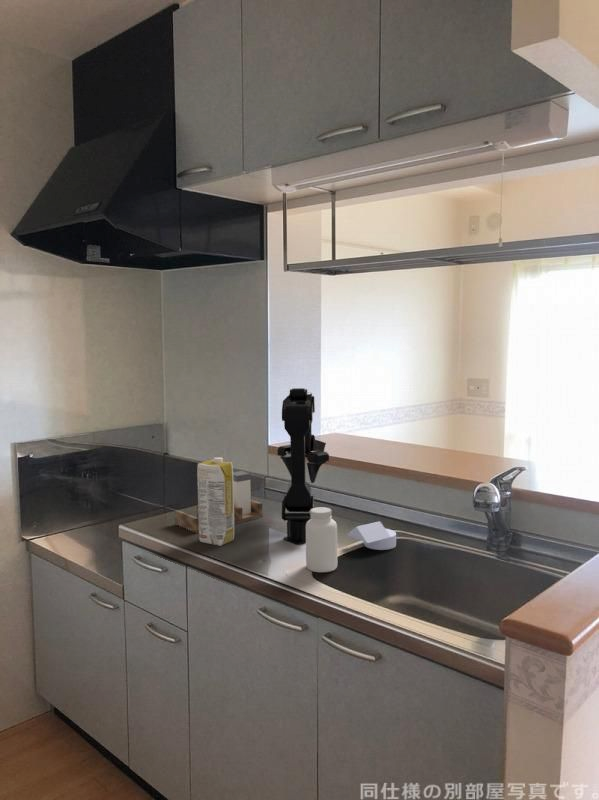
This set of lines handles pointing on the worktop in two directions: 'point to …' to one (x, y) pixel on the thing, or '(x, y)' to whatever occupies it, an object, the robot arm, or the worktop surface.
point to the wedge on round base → (374, 536)
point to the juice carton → (215, 501)
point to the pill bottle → (321, 541)
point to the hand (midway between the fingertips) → (302, 480)
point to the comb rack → (256, 512)
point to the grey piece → (242, 491)
